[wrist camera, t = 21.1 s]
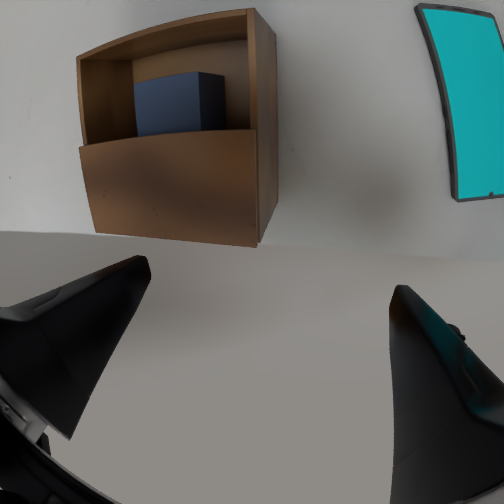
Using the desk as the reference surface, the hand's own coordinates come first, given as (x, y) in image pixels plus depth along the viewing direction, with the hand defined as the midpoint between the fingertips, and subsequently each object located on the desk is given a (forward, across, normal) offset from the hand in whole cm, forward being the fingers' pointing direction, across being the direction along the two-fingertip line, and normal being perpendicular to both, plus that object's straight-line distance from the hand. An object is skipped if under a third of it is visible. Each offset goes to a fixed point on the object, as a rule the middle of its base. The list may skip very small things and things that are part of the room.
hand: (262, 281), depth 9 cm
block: (+12, +7, -6) cm, 15 cm away
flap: (+6, +7, -1) cm, 9 cm away
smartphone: (+13, -14, -8) cm, 20 cm away
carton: (+12, +7, -4) cm, 15 cm away
